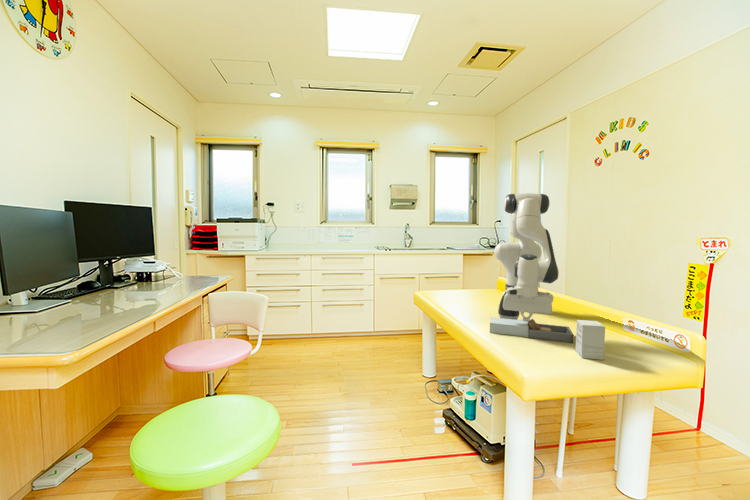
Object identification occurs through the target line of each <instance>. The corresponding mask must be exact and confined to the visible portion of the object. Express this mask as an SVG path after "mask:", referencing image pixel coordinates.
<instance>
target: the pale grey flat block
mask: <svg viewBox="0 0 750 500" xmlns="http://www.w3.org/2000/svg"><path fill="white" fill-rule="evenodd" d="M528 329H529V327H528V322H527V321H523V319H521V320H520V319H517V320H513V319H504V318H500V317H491V316H490V320H489V333H492V334H500V335H509V336H517V337H523V338H524V337H525V338H528Z"/></svg>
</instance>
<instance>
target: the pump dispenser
mask: <svg viewBox="0 0 750 500" xmlns="http://www.w3.org/2000/svg"><path fill="white" fill-rule="evenodd" d="M504 292H505V291H504ZM504 292H503V293H504ZM505 294H506V292H505V293H504V295H503V296H502V295H501V298H500V301H499V304H498V310H497V311H498V312H497V313H498V316H499V318H504V319H513V320H519V319H518V318H519V317H520V315H521V313H520V311H513V310H504V309H503V301H504V296H505Z"/></svg>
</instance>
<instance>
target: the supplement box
mask: <svg viewBox="0 0 750 500" xmlns="http://www.w3.org/2000/svg"><path fill="white" fill-rule="evenodd" d="M575 328H576V333H575V352H576V353H577V354H578V356H579V357H580V358H581V359H587V360H588V359H589V360H598V361H599V360H602V361H604V360H605V359H604V358H605V357H604V355H605V340H606V326H605V325H603V323H601V322H599V321H598V320H588V319H586V320H584V319H576V327H575Z"/></svg>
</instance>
